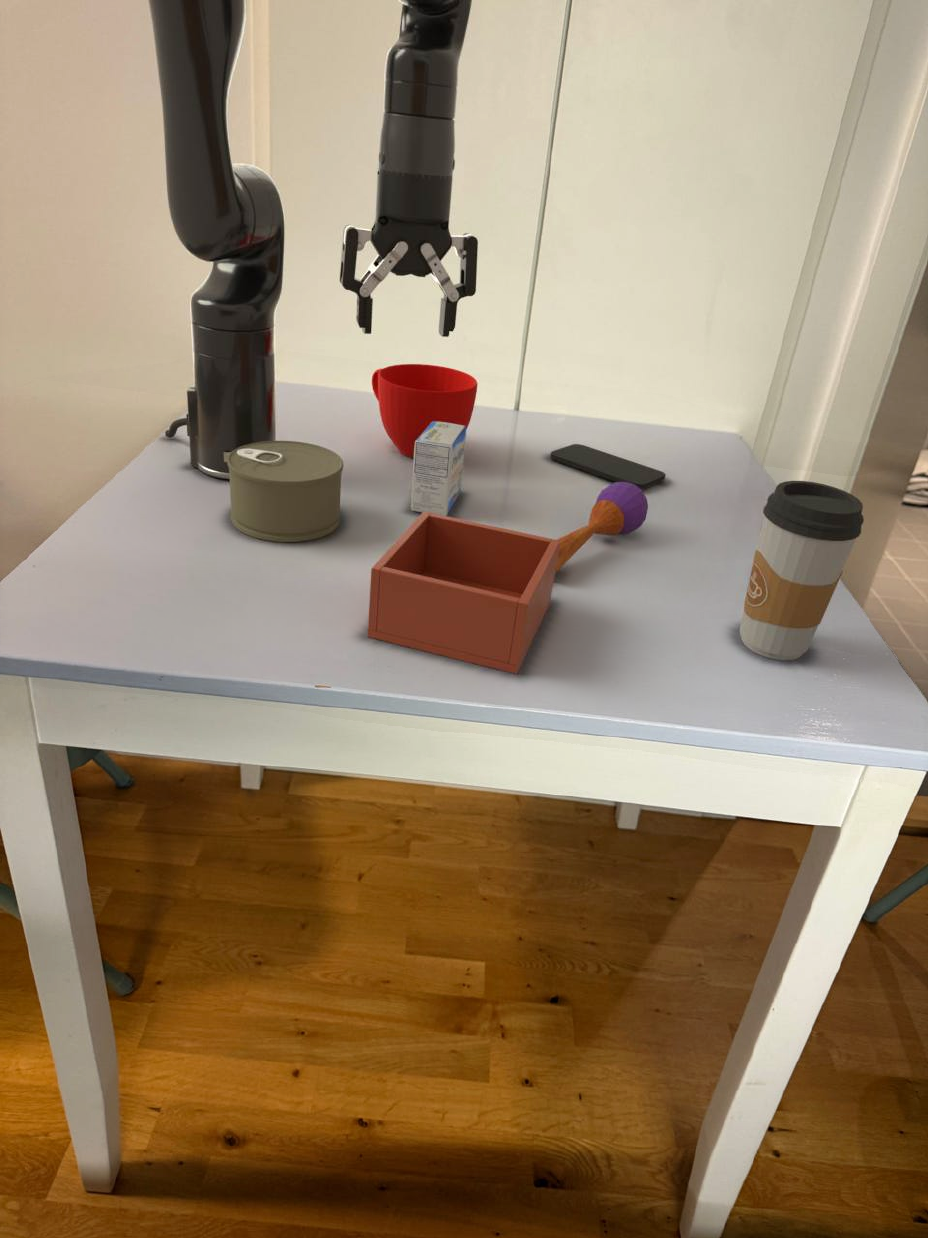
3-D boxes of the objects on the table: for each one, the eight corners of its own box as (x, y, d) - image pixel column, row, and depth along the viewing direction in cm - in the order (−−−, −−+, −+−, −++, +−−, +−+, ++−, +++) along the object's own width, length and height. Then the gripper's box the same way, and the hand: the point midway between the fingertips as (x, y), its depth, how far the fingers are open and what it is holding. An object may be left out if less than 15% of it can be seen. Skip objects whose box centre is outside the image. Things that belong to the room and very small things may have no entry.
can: (312, 552, 92) (313, 489, 88) (207, 528, 94) (204, 466, 91) (358, 511, 102) (360, 453, 98) (262, 490, 104) (261, 433, 101)
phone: (577, 442, 128) (669, 473, 120) (576, 448, 129) (668, 479, 121) (547, 452, 123) (641, 485, 115) (546, 458, 123) (640, 491, 116)
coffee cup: (715, 619, 88) (755, 475, 80) (795, 623, 89) (842, 481, 81) (745, 666, 81) (792, 513, 73) (832, 669, 82) (887, 519, 74)
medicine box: (446, 518, 102) (453, 445, 98) (409, 511, 103) (414, 439, 99) (460, 493, 109) (467, 425, 105) (425, 487, 110) (431, 419, 105)
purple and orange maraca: (515, 532, 91) (610, 472, 105) (519, 585, 94) (611, 519, 108) (565, 541, 88) (657, 478, 102) (568, 595, 91) (656, 527, 104)
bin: (367, 637, 78) (371, 567, 75) (418, 573, 90) (423, 510, 87) (516, 674, 76) (527, 604, 72) (549, 603, 87) (560, 540, 84)
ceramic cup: (405, 421, 131) (410, 352, 126) (489, 456, 122) (498, 383, 117) (335, 435, 123) (338, 362, 118) (420, 475, 113) (426, 397, 108)
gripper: (474, 170, 94) (460, 328, 102) (339, 158, 90) (335, 323, 98) (494, 177, 88) (477, 345, 96) (349, 164, 84) (344, 339, 92)
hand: (405, 333), depth 97 cm, fingers open, 8 cm apart
